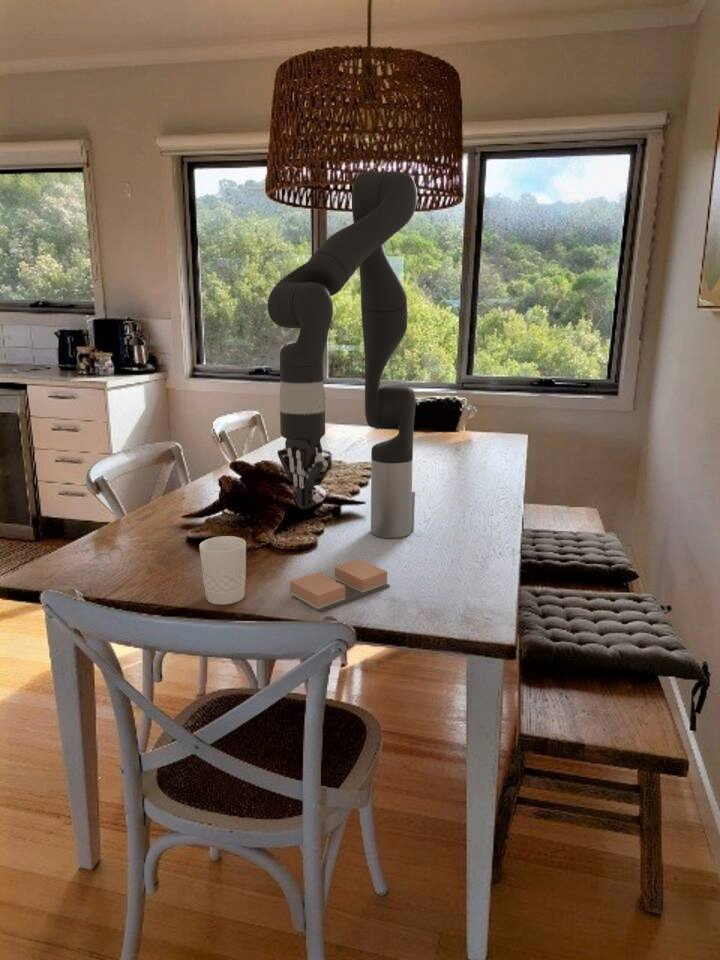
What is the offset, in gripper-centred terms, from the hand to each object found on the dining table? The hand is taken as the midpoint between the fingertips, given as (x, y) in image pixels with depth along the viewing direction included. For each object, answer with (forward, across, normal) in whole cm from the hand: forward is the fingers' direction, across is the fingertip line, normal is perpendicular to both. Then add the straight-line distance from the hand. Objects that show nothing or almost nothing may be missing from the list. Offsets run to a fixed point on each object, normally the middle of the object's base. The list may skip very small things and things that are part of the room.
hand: (304, 507), depth 110 cm
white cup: (+16, +8, +12) cm, 22 cm away
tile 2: (+14, +1, -10) cm, 18 cm away
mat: (+16, -4, -5) cm, 17 cm away
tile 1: (+14, 0, 0) cm, 14 cm away
